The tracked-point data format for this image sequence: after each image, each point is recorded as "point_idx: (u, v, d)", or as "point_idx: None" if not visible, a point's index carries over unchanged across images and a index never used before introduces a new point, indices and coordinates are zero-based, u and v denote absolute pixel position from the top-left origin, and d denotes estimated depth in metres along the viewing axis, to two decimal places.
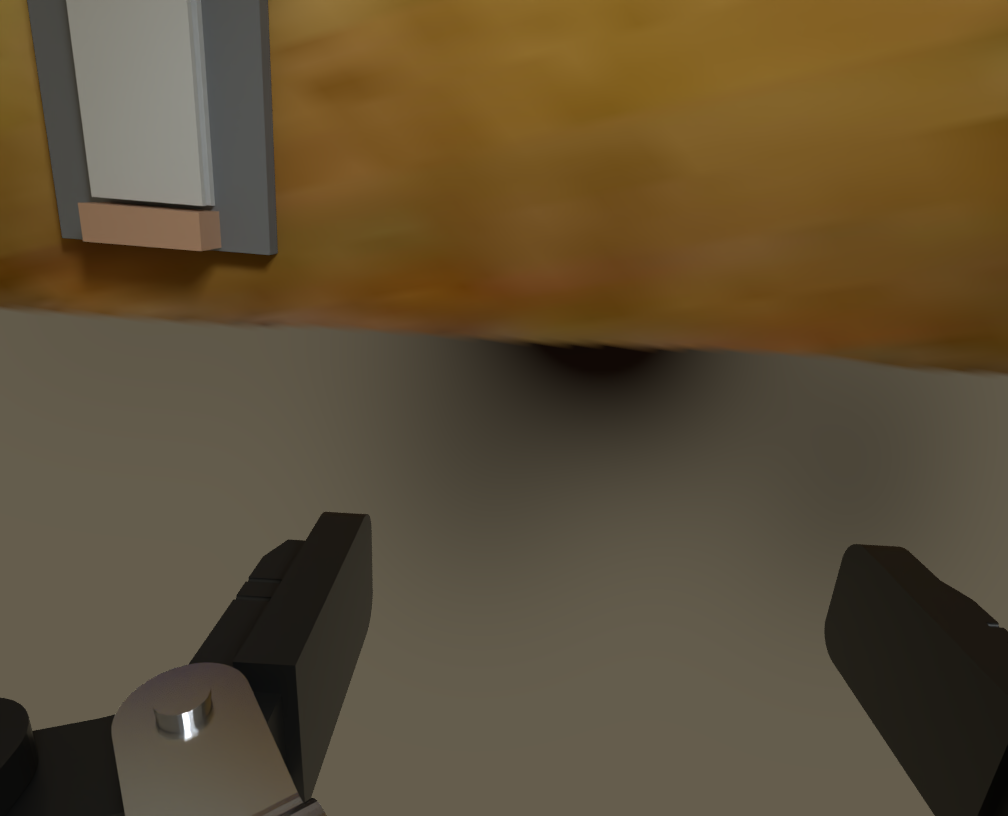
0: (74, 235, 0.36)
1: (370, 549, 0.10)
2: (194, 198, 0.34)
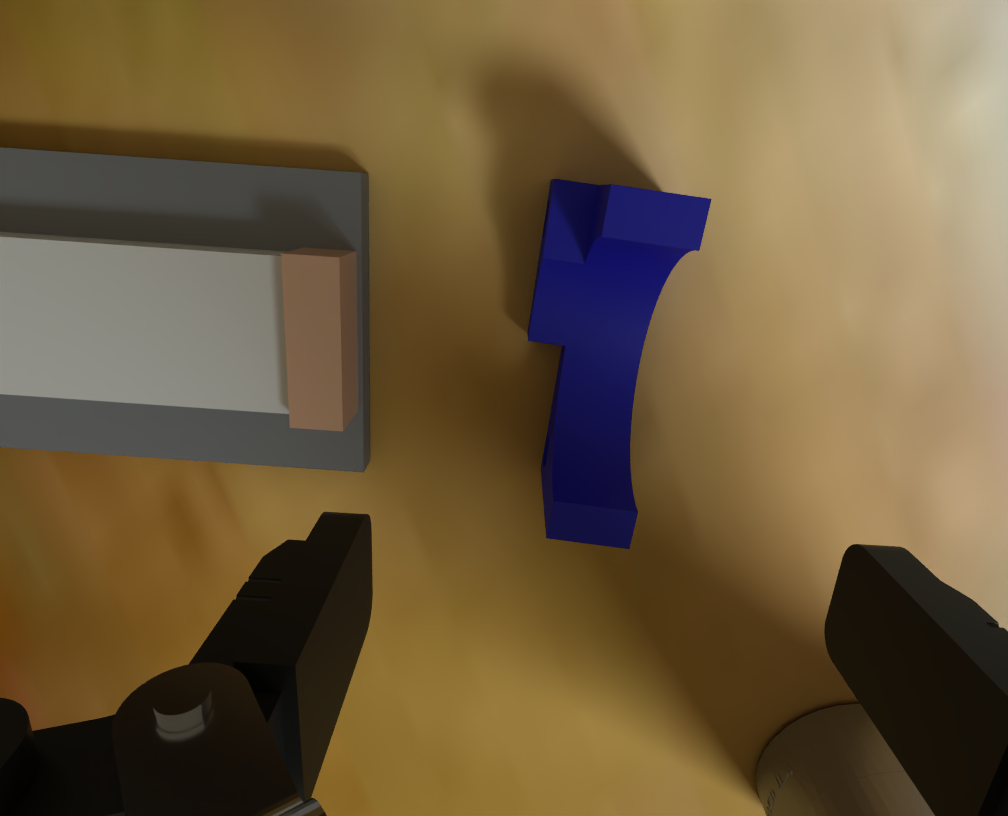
0: None
1: (370, 549, 0.10)
2: None
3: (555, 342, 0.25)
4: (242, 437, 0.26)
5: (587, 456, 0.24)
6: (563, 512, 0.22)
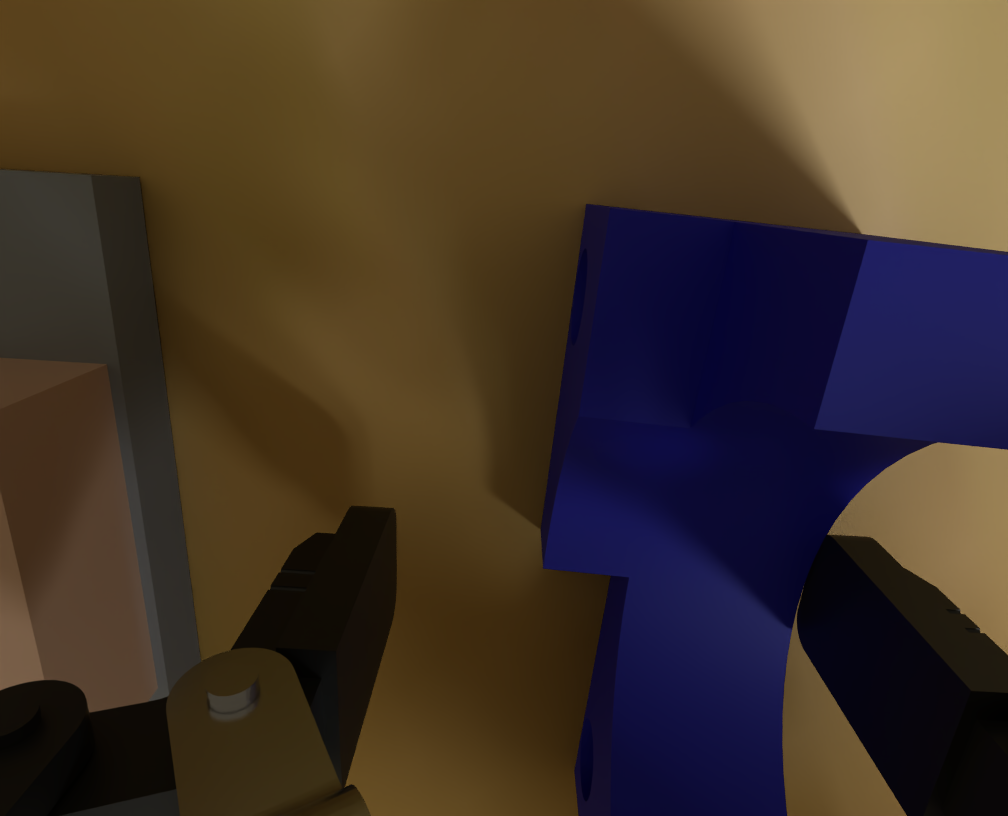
0: None
1: (395, 542, 0.11)
2: None
3: (605, 570, 0.11)
4: None
5: None
6: None
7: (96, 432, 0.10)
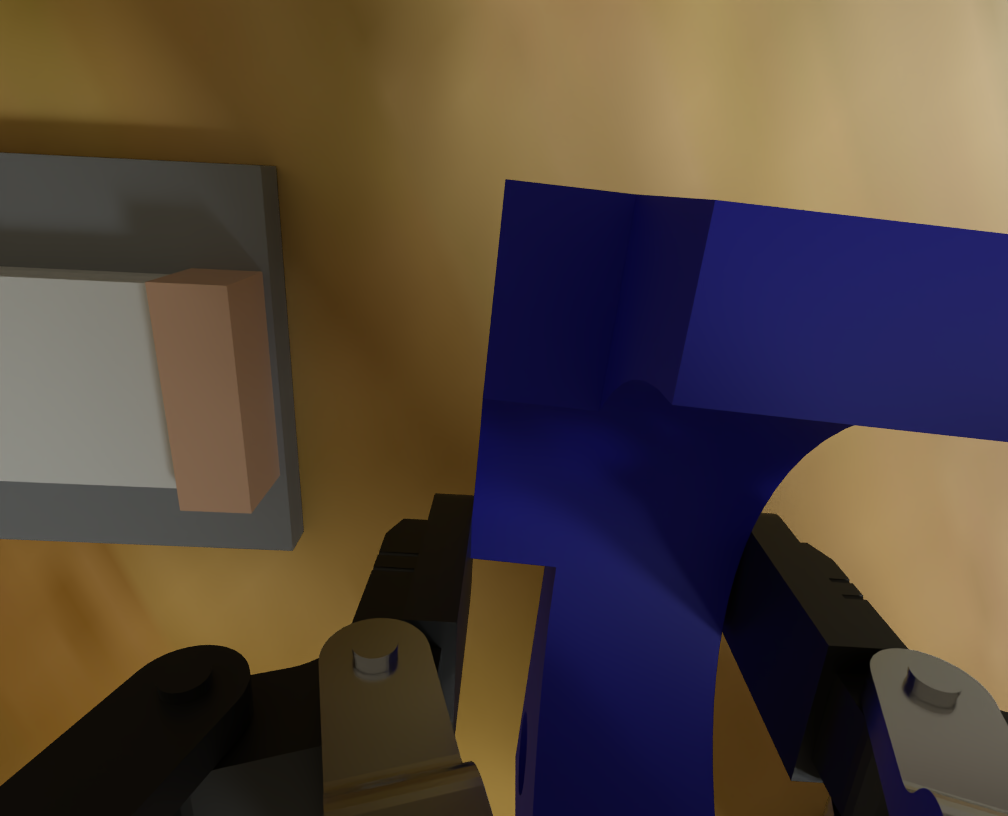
0: None
1: None
2: None
3: (532, 560, 0.11)
4: (133, 512, 0.20)
5: None
6: None
7: (258, 308, 0.18)
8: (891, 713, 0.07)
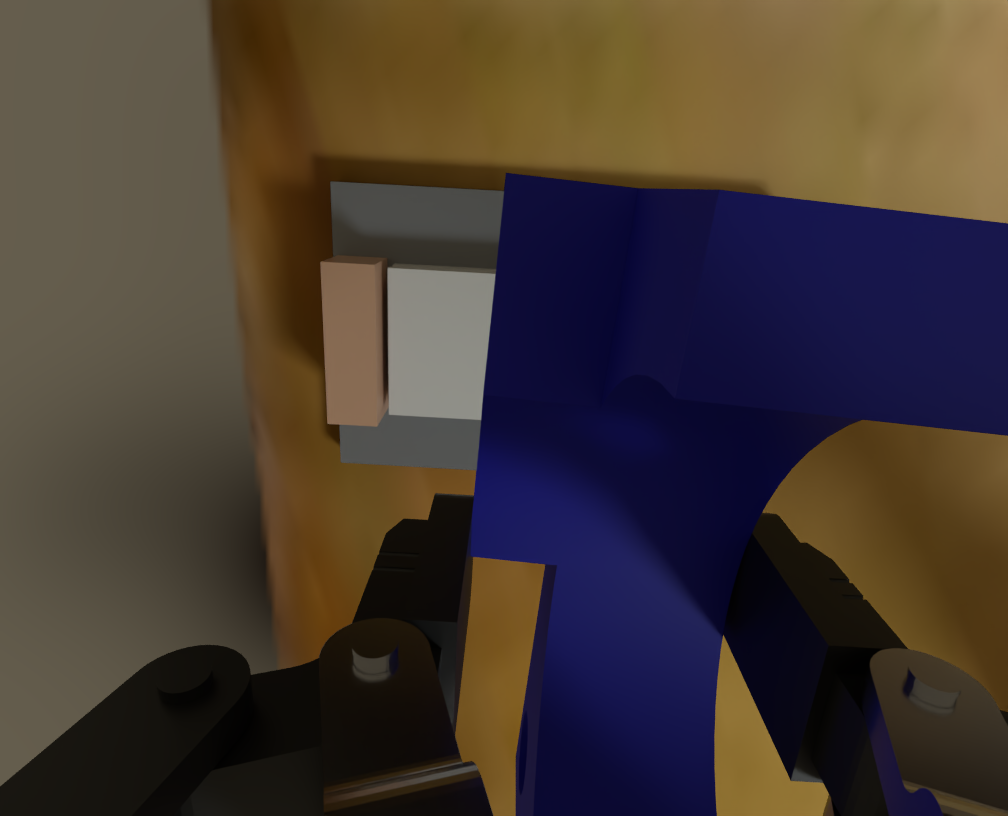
0: (335, 201, 0.25)
1: None
2: (397, 406, 0.26)
3: (532, 558, 0.10)
4: None
5: None
6: None
7: None
8: (891, 713, 0.07)
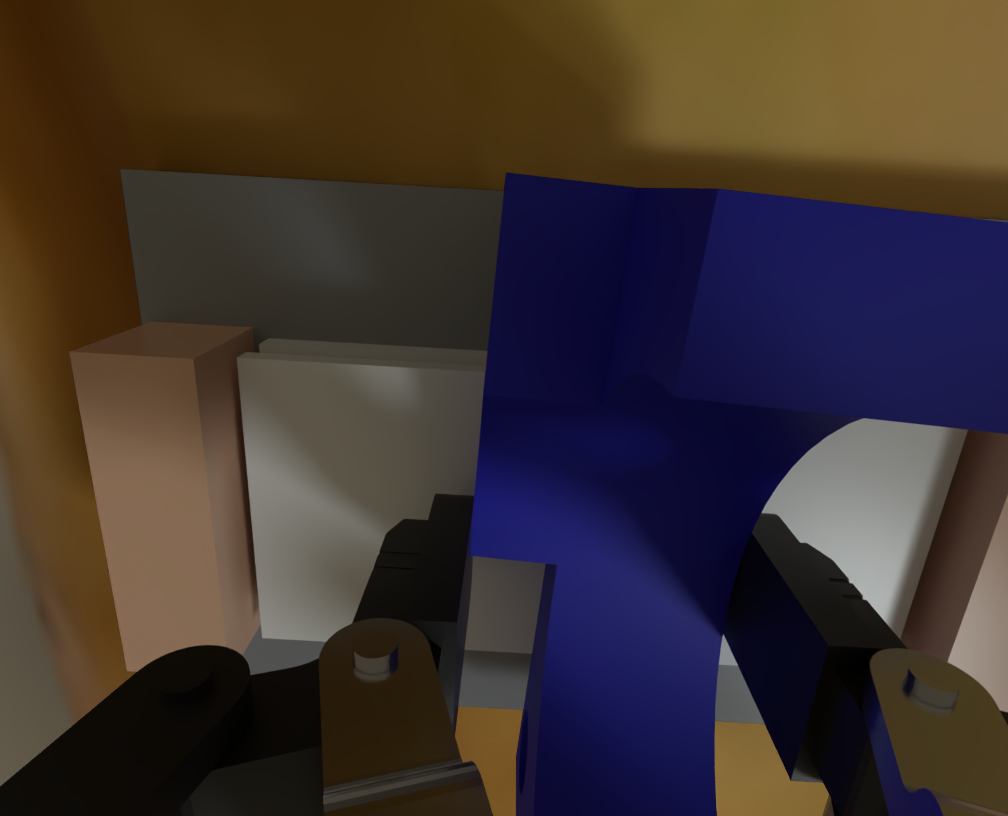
0: (136, 211, 0.12)
1: None
2: (278, 623, 0.13)
3: (532, 558, 0.10)
4: (725, 682, 0.15)
5: None
6: None
7: None
8: (891, 713, 0.07)
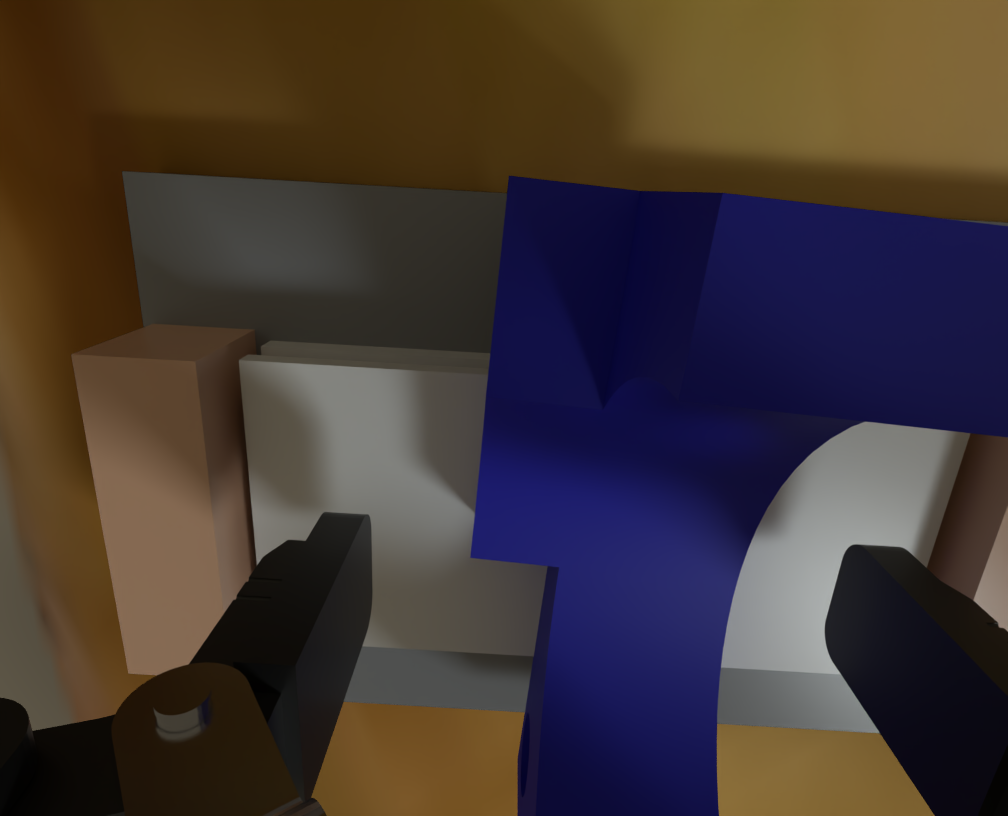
0: (138, 213, 0.12)
1: (370, 549, 0.10)
2: None
3: (534, 560, 0.10)
4: (727, 684, 0.15)
5: None
6: None
7: None
8: None
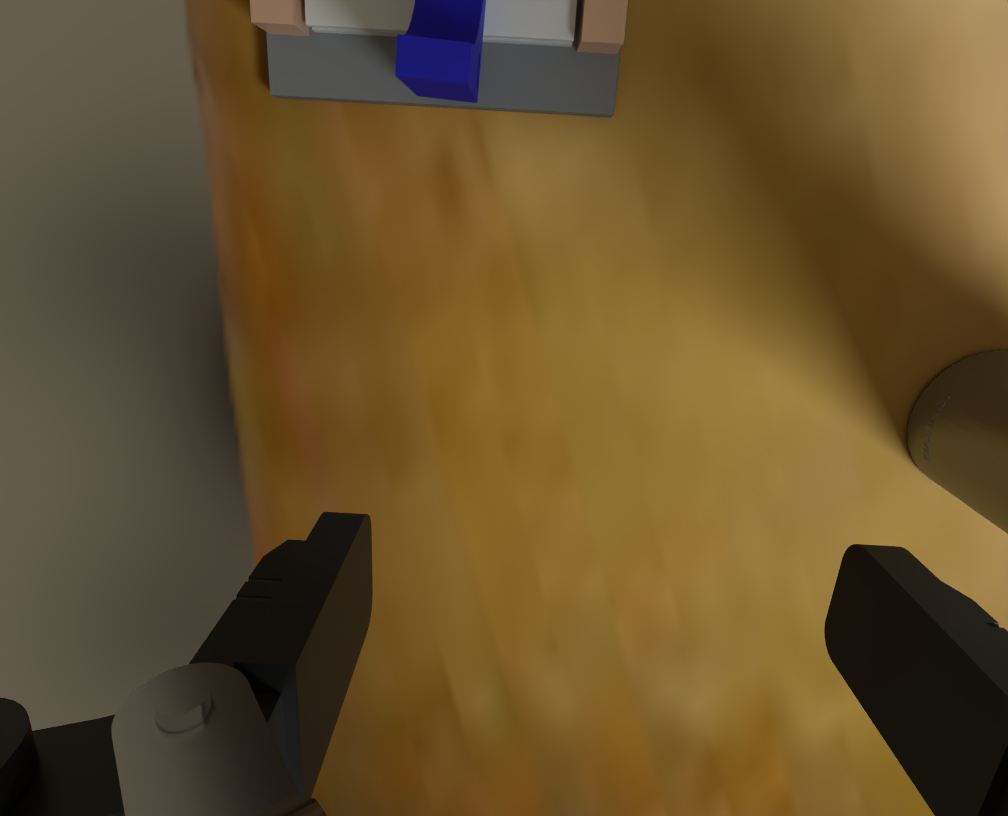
0: None
1: (370, 549, 0.10)
2: (312, 15, 0.30)
3: None
4: (517, 83, 0.32)
5: (439, 30, 0.27)
6: (407, 46, 0.25)
7: None
8: None
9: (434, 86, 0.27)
